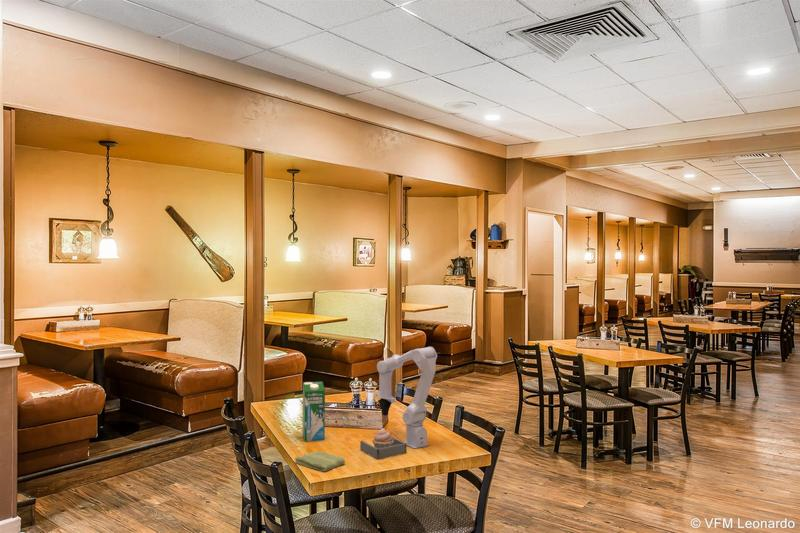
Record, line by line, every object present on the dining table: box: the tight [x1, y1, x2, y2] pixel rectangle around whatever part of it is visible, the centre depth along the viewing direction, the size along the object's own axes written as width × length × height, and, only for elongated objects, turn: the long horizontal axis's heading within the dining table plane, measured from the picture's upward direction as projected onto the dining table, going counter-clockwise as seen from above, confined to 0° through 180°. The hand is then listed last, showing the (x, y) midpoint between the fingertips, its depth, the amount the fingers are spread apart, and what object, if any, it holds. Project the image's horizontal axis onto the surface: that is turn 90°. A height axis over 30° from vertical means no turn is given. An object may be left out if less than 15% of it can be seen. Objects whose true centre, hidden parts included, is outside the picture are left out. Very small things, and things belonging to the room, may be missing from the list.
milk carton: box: [302, 381, 326, 442], centre depth 261 cm, size 9×9×25 cm
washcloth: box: [294, 450, 346, 473], centre depth 229 cm, size 13×18×3 cm
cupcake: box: [372, 427, 394, 449], centre depth 244 cm, size 9×9×10 cm
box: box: [359, 436, 408, 460], centre depth 244 cm, size 14×15×4 cm
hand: (385, 415), depth 266 cm, fingers closed
